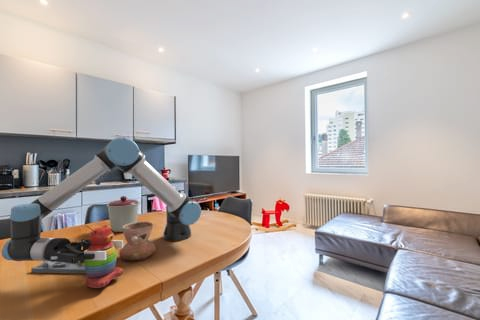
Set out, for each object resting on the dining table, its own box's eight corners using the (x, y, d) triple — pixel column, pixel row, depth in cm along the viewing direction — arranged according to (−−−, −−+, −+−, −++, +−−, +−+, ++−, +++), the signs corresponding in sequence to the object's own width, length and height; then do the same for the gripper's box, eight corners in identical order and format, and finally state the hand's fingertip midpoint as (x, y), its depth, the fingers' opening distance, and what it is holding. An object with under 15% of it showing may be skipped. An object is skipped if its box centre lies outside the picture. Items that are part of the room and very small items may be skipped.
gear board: (115, 256, 97) (115, 245, 98) (91, 273, 82) (91, 260, 83) (64, 255, 99) (64, 244, 99) (31, 272, 84) (31, 259, 84)
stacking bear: (101, 289, 69) (100, 233, 69) (75, 285, 71) (74, 231, 71) (125, 272, 80) (125, 223, 80) (102, 269, 82) (101, 222, 82)
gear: (95, 252, 98) (95, 249, 98) (68, 268, 83) (68, 265, 83) (64, 252, 98) (64, 249, 99) (32, 268, 84) (32, 264, 84)
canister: (102, 230, 135) (102, 196, 135) (132, 223, 149) (132, 193, 149) (113, 236, 123) (113, 199, 123) (144, 229, 137) (144, 195, 137)
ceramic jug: (152, 263, 90) (153, 228, 91) (113, 267, 87) (114, 231, 87) (157, 247, 108) (157, 218, 108) (125, 250, 104) (125, 220, 104)
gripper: (77, 247, 87) (131, 247, 86) (20, 276, 66) (92, 277, 65) (76, 228, 87) (131, 228, 86) (19, 251, 66) (91, 251, 65)
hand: (114, 249), depth 75 cm, fingers closed on stacking bear, 9 cm apart
